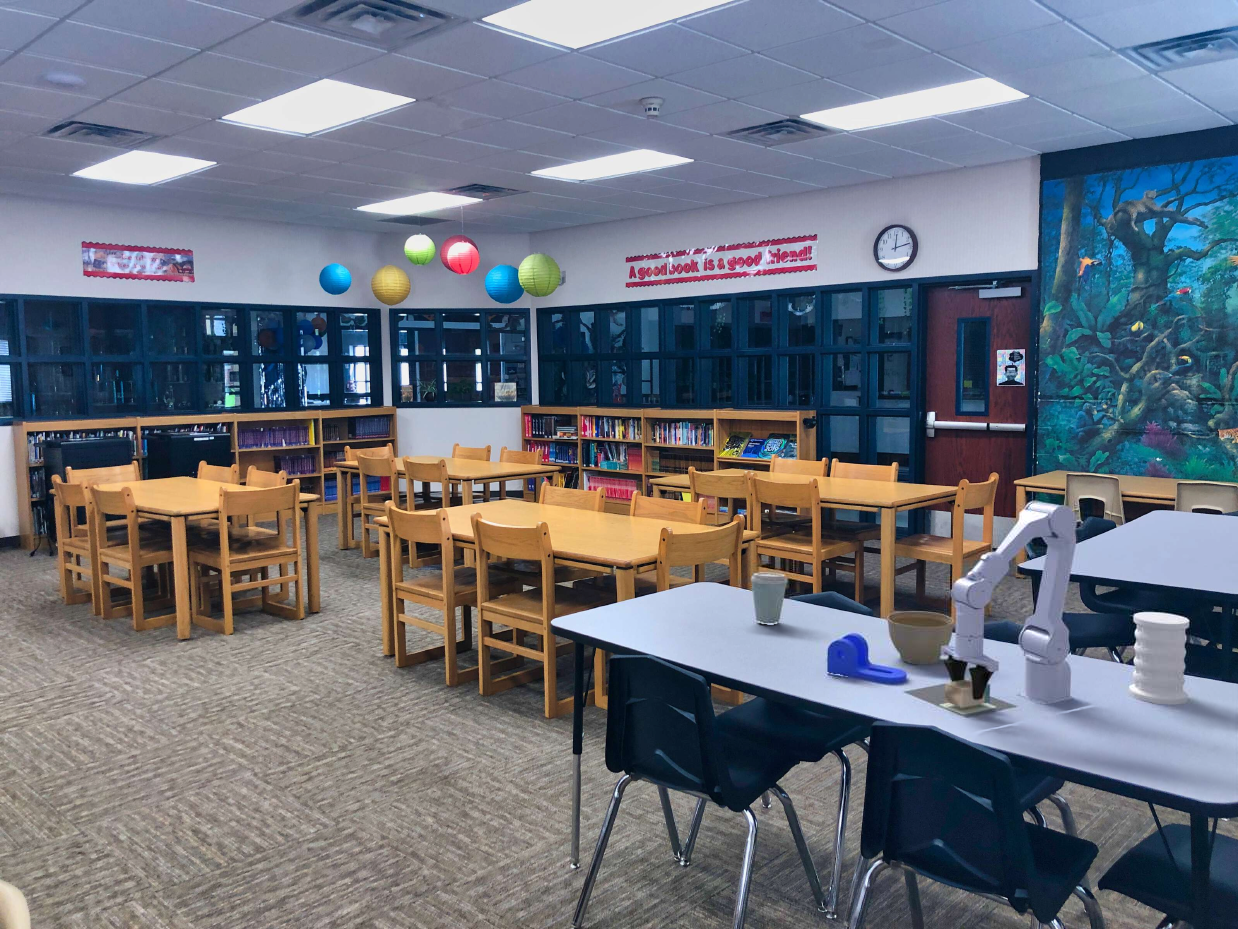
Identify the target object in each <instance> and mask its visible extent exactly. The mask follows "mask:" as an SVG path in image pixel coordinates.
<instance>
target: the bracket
mask: <svg viewBox="0 0 1238 929" xmlns="http://www.w3.org/2000/svg"><path fill="white" fill-rule="evenodd" d="M868 645H869V644H868V642H867V640H866V639H865V638H864V637H863V636H862V635H860V634H859V633H855V632H851V633H848V634H847V635H844V636H843V637H841V638H839V639H836V640H834V641H832V642H831V643H830V644H829V645H828V647H827V650H826V651H827V653H826V654H827V657H826V662H827V666H826V673H827V672H829V673H833V674H840V675H843V676H848V677H847V678H849V677H850V678H854V679H858V680H866V681H868V682H869V681H870V682H876V683H880V684H887V685H888V684H889V685H897V684H904V683H905V682H907V677H908V676H907V673H908V672H907V671H905V670H903V669H901V668H896V667H892V666H891V667H890V666H886V665H881V664H875V663H871V661H870V659H869V646H868Z"/></svg>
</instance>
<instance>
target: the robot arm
mask: <svg viewBox="0 0 1238 929" xmlns="http://www.w3.org/2000/svg"><path fill="white" fill-rule="evenodd" d="M1078 519H1079V518H1078V516H1077V515H1076V513H1075V512H1074V510H1073V509H1072V508H1071V507H1070V506H1068V505H1064V504H1063V505H1062V504H1061V505H1059V504H1055V503H1050V502H1049V503H1048V502H1043V501H1039V500H1033V501H1029V502H1028V503H1027V504H1025V506H1024V508H1023V509H1022V510H1021V511H1020V512H1019V514H1018V521H1017V522H1016V523H1015V525H1014V526H1013V528H1012V529H1011V530H1010V531H1009V533H1008V534H1007V536H1006V537H1005V538H1004V539H1003V541H1002V542H1001V543H1000V545H999V546H998V547H997V549H996V550H995V551H991V552H986V553H985V554H982V555H981V556H980V560H979V561H978V562H977V563H976V565H975V566H974V567H973V568H972V569H971V570H970V571H968V573H967V574H966V576H965V577H962V578H958V580H956V581H955V582H954V583H953V586H952V589H950V591H949V593H950V597H951V599H952V601H954V609H955V640H954V642H955V644H954V645H955V646H952V645H946V646H941V656H944V657H945V656H946V657H947V658H945V659H944V660H943V664H944V667H945V668H946V670H947V672H948V675H949V678H950V680H951V681H950V682H954V681H959V680H964V679H965V675H966V670H967V666H968V663H969V664H970V665H971V664H972V665H974V667H969V668H968V671H969V674H970V678H971V679H972V690H973V699H975V700H979V699H982V698H983V695H984V691H985V688H986V686H987V683H988V684H989V681H990V679H991V678H992V676H993V675H994V673H995V672H997V671H999V664H1000V662H999V661H998V660H995V659H992V658H991V657H989V656H988V655H986V654H984V633H985V632H984V631H985V630H984V628H985V627H984V626H985V625H984V624H985V622H984V621H985V607H986V606H987V605H988V604H989V603H990V601H991V598H992V593H993V592H994V588H995V586H996V585H998V583H999V582H1000V581H1001V580H1002V579H1003V577H1004V576H1005V575H1006V574H1007V573H1008V572H1009V571H1010V564H1009V562H1011V561H1012V560H1013V558H1014V557H1015V556H1016V555H1017V554H1018V553H1019V552H1020V551H1022V550H1023V548H1024V547H1025V546H1027V544H1029V542H1031V540H1033V539H1035V538H1040V537H1041V538H1042V540H1043V541H1044V543H1045V544H1046V545H1047V549H1046V554H1045V559H1044V563H1043V564H1044V565H1043V569H1042V576H1041V578H1040V579H1041V580H1040V584H1039V591H1038V597H1037V601H1036V605H1035V611H1034V614H1033V615H1031V616H1029V617H1028V618H1026V619H1025V622H1024V626H1023V628H1022V630H1021V631H1020V633H1019V635H1018V646H1019V648H1020V650H1022V651H1023V656H1024V657H1025V673H1024V674H1025V678H1024V679H1025V680H1024V691H1020V692H1016V693H1015V695H1016V696H1019V697H1021V698H1024V699H1027V700H1030V701H1033V702H1036V703H1038V704H1041V705H1045V706H1047V705H1051V704H1055V703H1059V702H1063V701H1068V700H1073V699H1074V697H1073V696H1072V695H1071V683H1072V682H1071V681H1072V680H1071V679H1072V678H1071V677H1072V670H1071V666H1070V664H1069V663H1068V661H1067V660H1066V658H1067V657H1068V655H1069V653H1070V647H1071V646H1070V641H1069V638H1070V631H1069V628H1068V627H1067V625H1066V624H1065V623H1064V621H1063V619H1062V618H1063V613H1064V608H1065V602H1066V598H1067V597H1066V596H1067V591H1068V587H1069V582H1070V576H1071V572H1072V565H1073V561H1074V556H1075V550H1076V545H1077V537H1076V528H1077V524H1078V523H1077V522H1078Z"/></svg>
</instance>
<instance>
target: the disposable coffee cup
mask: <svg viewBox="0 0 1238 929" xmlns="http://www.w3.org/2000/svg"><path fill="white" fill-rule="evenodd" d="M750 581H751V586H752V596H753V604H754V615H755V620H756V622H757V621H760V622H763V623H775V622H778V621H779V620H781V614H782V608H783V603H784V598H785V593H786V588H787V583H788V577H787V576H786V574H783V573H777V572H755V573H753V574H752V575H751V578H750ZM779 622H780V621H779ZM779 622H778V623H779Z"/></svg>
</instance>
